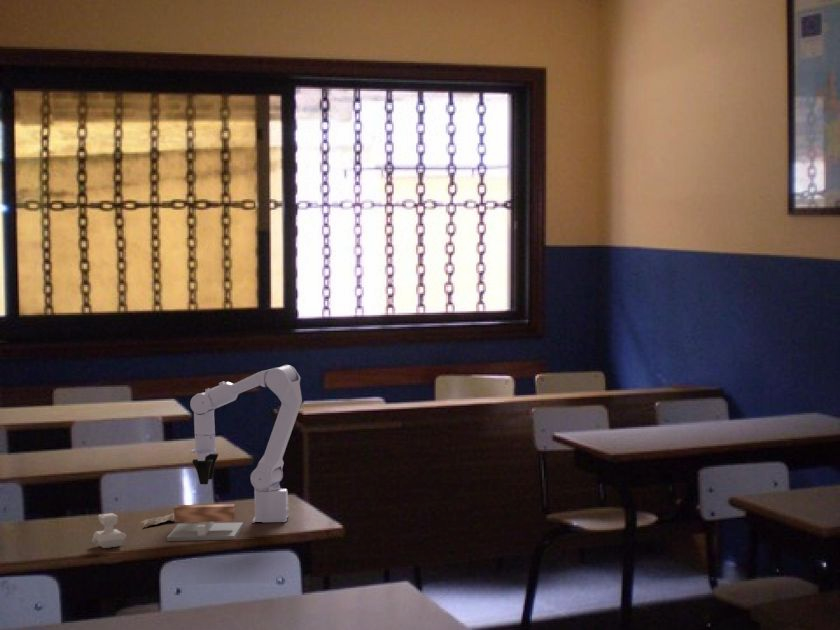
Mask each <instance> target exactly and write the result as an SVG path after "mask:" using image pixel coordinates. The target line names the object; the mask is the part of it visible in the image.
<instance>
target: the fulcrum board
mask: <svg viewBox="0 0 840 630" xmlns="http://www.w3.org/2000/svg"><path fill="white" fill-rule="evenodd" d="M243 527H244V522H192V523H177V525H176V526H175V527H174V528H173V529H172V530H171V532H170V533H169V534H168V535H167V536H166V542H175V541H176V542H179V541H184V542H185V541H219V540H220V541H223V540H226V541H228V540H230V541H231V540H235V539H236V538H237V537H238V535H239V534H240V532H241V530H242V529H243ZM241 528H242V529H241Z"/></svg>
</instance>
